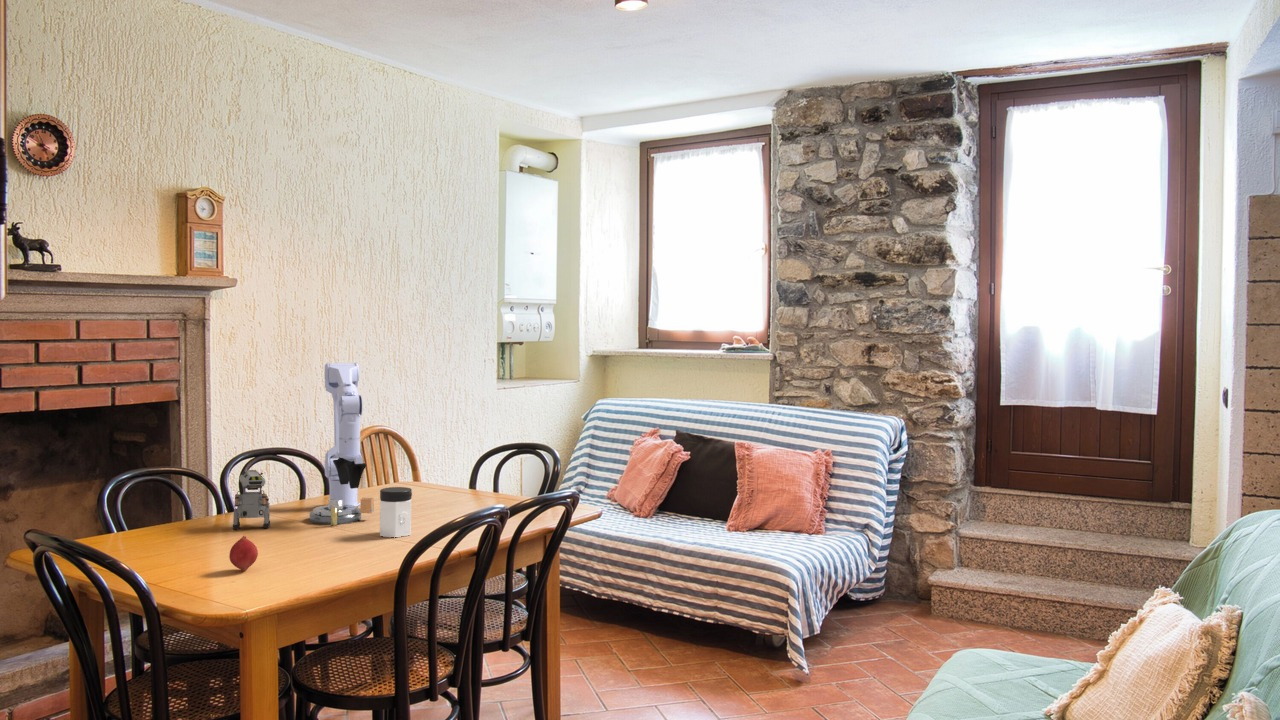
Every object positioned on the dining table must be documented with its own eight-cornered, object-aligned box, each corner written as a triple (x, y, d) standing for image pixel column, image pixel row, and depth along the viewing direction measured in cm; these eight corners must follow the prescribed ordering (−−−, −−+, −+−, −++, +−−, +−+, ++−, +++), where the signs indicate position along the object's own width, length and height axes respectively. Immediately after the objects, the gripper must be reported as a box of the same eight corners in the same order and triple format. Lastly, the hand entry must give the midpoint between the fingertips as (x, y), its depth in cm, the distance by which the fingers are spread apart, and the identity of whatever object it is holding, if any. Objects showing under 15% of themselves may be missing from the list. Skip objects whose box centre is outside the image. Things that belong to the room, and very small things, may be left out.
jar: (387, 539, 236) (388, 493, 236) (372, 534, 242) (373, 489, 242) (418, 534, 242) (419, 489, 242) (403, 529, 248) (403, 485, 248)
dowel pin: (332, 525, 252) (332, 507, 251) (337, 525, 252) (338, 507, 251) (330, 526, 250) (330, 508, 250) (335, 526, 250) (336, 508, 250)
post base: (320, 514, 266) (320, 495, 266) (367, 515, 266) (367, 496, 266) (301, 524, 252) (301, 504, 252) (351, 525, 252) (352, 505, 252)
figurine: (272, 521, 255) (273, 468, 255) (267, 530, 244) (267, 474, 244) (237, 522, 253) (237, 469, 253) (230, 531, 242) (230, 475, 241)
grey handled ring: (307, 515, 254) (307, 501, 253) (322, 507, 265) (322, 493, 265) (366, 516, 253) (366, 502, 253) (378, 508, 265) (378, 494, 265)
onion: (224, 573, 201) (224, 537, 200) (237, 567, 206) (237, 532, 206) (250, 574, 200) (250, 538, 200) (262, 567, 206) (262, 532, 206)
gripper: (326, 436, 260) (326, 483, 261) (345, 441, 249) (344, 491, 249) (350, 434, 265) (350, 481, 265) (370, 440, 253) (369, 488, 254)
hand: (349, 486), depth 258 cm, fingers open, 7 cm apart
